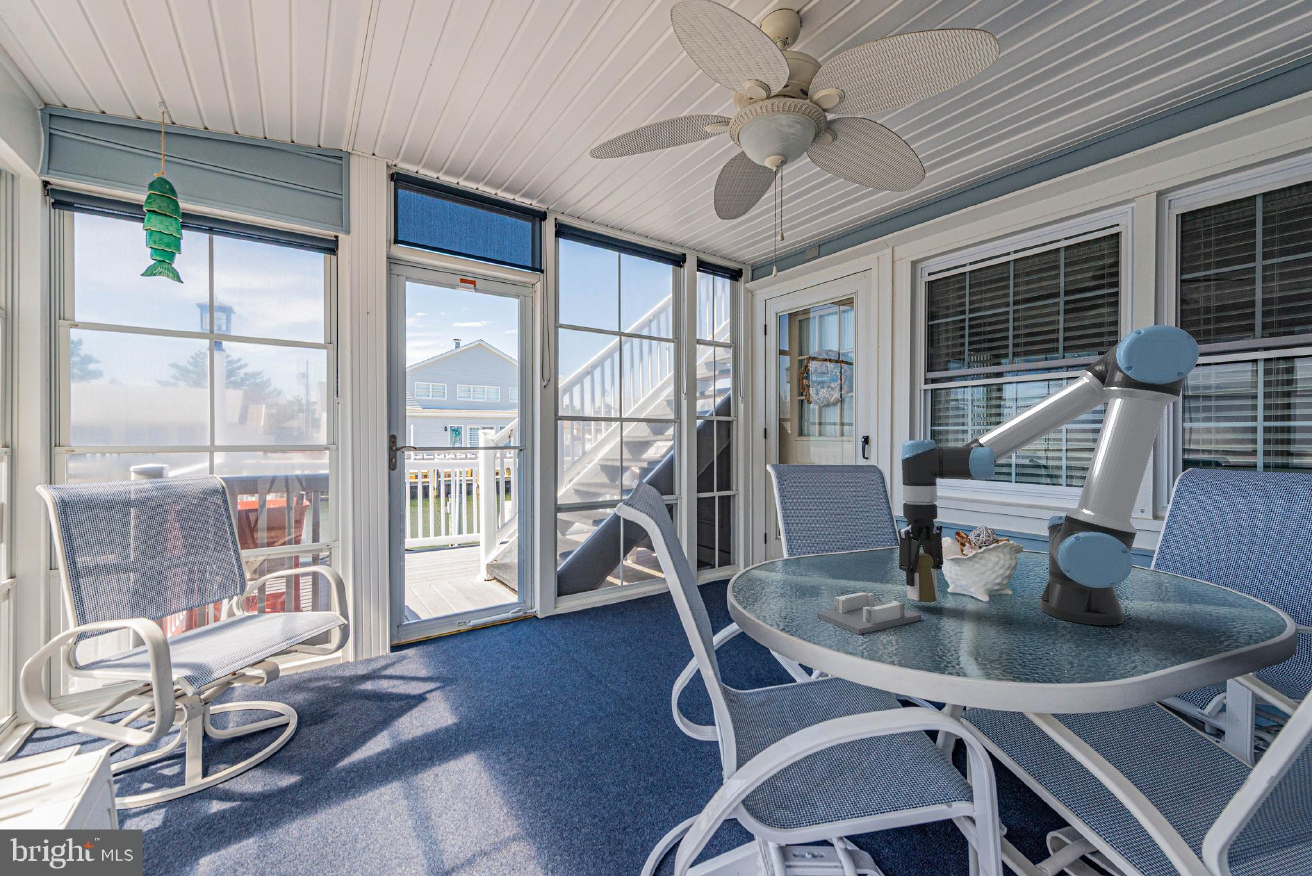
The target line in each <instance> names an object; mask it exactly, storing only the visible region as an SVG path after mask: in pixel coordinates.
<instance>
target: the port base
mask: <svg viewBox="0 0 1312 876" xmlns="http://www.w3.org/2000/svg"><path fill="white" fill-rule="evenodd" d="M833 601H834V602H833V609H828V610H823V611H819V612H816V618H817V617H818V618H817V619H819V618H820V619H819V620H821V619H823V620H822V621H824V622H826V621H827V623H829V624H831V623H832V625H834V624H835V625H834V626H836V625H837V627H838V626H840V627H839V628H841V627H842V628H841V629H843V628H845V629H844V630H846V629H847V630H846V631H848V630H850V631H849V632H851V633H853V632H854V633H853V634H856V633H857V634H856V635H859V634H860V635H863V634H862V633H864V634H868V633H872V632H877V631H881V630H885V629H889V628H893V627H897V626H901V625H905V624H909V623H914V622H919V621H921V620H922V613H921V614H920V613H917V612H914V611H911V610H908V609H905V603H904V602H901V601H897V600H893V601H891V602H890V603H886V602H883V601H880V600H875V594H874V593H873V592H869V591H862V592H857V593H850V594H845V595H840V596H836V597H834V598H833ZM860 635H859V636H860Z"/></svg>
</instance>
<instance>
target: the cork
mask: <svg viewBox="0 0 1312 876" xmlns="http://www.w3.org/2000/svg"><path fill="white" fill-rule="evenodd" d="M932 566H933V558H932V557H931V556H930V555H928V554H925V553H924V552H919V557H918V563H917V569H916V573H919V600H918V601H917V600H913V599H910V600H912V601H915V602H918V603H934V602H937V596H936V595H935V589H934V583H933V577H932V572H931V567H932Z"/></svg>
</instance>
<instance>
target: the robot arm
mask: <svg viewBox="0 0 1312 876" xmlns="http://www.w3.org/2000/svg"><path fill="white" fill-rule="evenodd" d="M1199 357H1200V348H1199V344H1198V343H1197V340H1196V339H1195V338H1194V337H1193V336H1192V335H1191V334H1189V333H1188V332H1187V331H1185V330H1184V329H1181V328H1179V327H1176V326H1173V325H1166V324H1164V325H1162V324H1160V325H1149V326H1147V327H1141V328H1138V329H1136V330H1134V331H1132V332H1130V333H1128V334H1127V335H1125V336H1124V338H1122V340H1121V341H1119V342H1117V343H1116V344H1115V345H1113V346H1112V347H1111V348H1110V349H1109V350H1108V351H1107V352H1106V353H1105V354H1104V355H1102V356H1101V357H1100V358H1098V359H1097V360H1096V361H1095V362H1093V363H1092V364H1090V365H1088V366H1087V367H1086V368H1083V369H1082V370H1081V372H1080V376H1079V377H1078V378H1076V379H1074V380H1072V381H1071V382H1068V383H1067V384H1066V385H1064V386H1062V387H1061V388H1058V389H1057V390H1055V391H1054V392H1052V393H1050V394H1049V395H1047V396H1045V397H1043V398H1042V399H1040V400H1039V401H1037V402H1035V403H1034V404H1032V405H1030V406H1028V407H1027V408H1025V409H1023V410H1022V411H1020V412H1018V413H1017V414H1015V415H1013V416H1012V417H1010V418H1008V419H1006V420H1005V421H1003V422H1001V423H999V424H998V425H996V426H994V427H993V428H991V429H989V430H988V431H986V432H985V433H983V434H981V435H980V436H978V437H977V438H975V439H973V440H971V441H969V442H968V443H966V444H964V445H963V446H961V447H960V446H959V447H937V445H936V441H935V440H933V439H924V440H923V439H922V440H921V439H919V440H917V439H915V440H914V439H913V440H905V441H904V442H903V443H902V444H901V458H900V459H901V476H902V480H901V481H902V500H903V501H904V503H903V504H902V511H903V513H902V514H903V518H904V519H906V521H907V522H906V525H905V528H899V529H898V530H897V533H898V540H899V542H898V543H899V547H898V552H899V553H898V554H899V555H898V569H899V570H901V571H903V572H904V573H905V583H906V592H907V593H906V595H907V596H906V597H907V599H910V600H911V599H913V600H912V601H914V600H917V601H916V602H919V601H918V600H919V573H916V569H917V563H918V557H919V553H921V552H920V550H921V547H922V551H923V553H925V554H928V555H930V556H931V557H932V558H933V566H932V567H931V572H932V577H933V583H934V589H935V595H936V597H938V570H942V568H943V567H942V566H943V565H944V551H943V550H944V549H943V537H942V535H943V526H942V525H938V524H935V522H934V521H936V520H938V505H937V504H936V503H937V501H938V490H937V489H938V487H937V479H940V480H941V479H942V480H944V479H948V480H949V479H950V480H975V481H979V480H992V479H993V478H994V477H995V474H996V473H995V472H996V470H995V464H997V463H999V462H1001V461H1002V460H1004V459H1005V458H1007V457H1009V456H1011V455H1013V454H1015V453H1016V452H1018V451H1020V450H1022V449H1023V448H1026V447H1027V446H1028V445H1031V444H1032V443H1034V442H1036V441H1037V440H1040V439H1042V438H1043V437H1045V436H1048V434H1051V433H1052V432H1054V431H1055V430H1057V429H1060V428H1061V427H1063V426H1065V425H1067V424H1068V423H1070V422H1072V421H1075V420H1076V419H1078V418H1079V417H1081V416H1083V415H1085V414H1087V413H1088V412H1090V411H1092V410H1094V409H1096V408H1097V407H1099V406H1101V405H1103V404H1107V407H1106V409H1105V410H1106V411H1105V413H1104V417H1103V420H1102V423H1101V427H1100V431H1099V433H1098V437H1097V440H1096V444H1095V447H1094V450H1093V453H1092V457H1091V460H1090V464H1089V466H1088V470H1087V474H1086V477H1085V480H1084V485H1083V487H1082V490H1081V494H1080V497H1079V501H1078V504H1077V507H1076V508H1074V509H1072V510H1069V511H1068V512H1066V513H1065V515H1053V516H1051V517H1049V519H1048V525H1047V530H1048V579H1047V582H1046V584H1045V587H1044V589H1043V592H1042V594H1041V597H1040V600H1039V609H1040V610H1041V612H1043V613H1044V614H1046V615H1049V616H1051V617H1053V618H1057V619H1061V620H1064V621H1069V622H1074V623H1078V624H1083V625H1085V624H1086V625H1091V624H1093V626H1102V625H1107V626H1108V625H1109V627H1111V626H1110V625H1113V626H1116V625H1115V624H1120V623H1122V624H1124V622H1123V621H1124V610H1123V607H1122V605H1121V603H1120V600H1119V598H1118V595H1117V593H1116V590H1115V588H1114V587H1115V586H1117V585H1120V584H1121V583H1122V582H1124V581H1125V580H1126V579H1127V578H1128V577H1130V574H1131V573H1132V569H1133V566H1134V560H1133V555H1132V553H1131V552H1132V548H1133V545H1134V542H1135V538H1136V535H1137V532H1138V531H1137V529H1136V528H1135V526H1134V525H1133V524H1132V522H1131V517H1132V514H1133V511H1134V508H1135V504H1136V501H1137V498H1138V495H1139V492H1140V488H1141V485H1142V483H1143V479H1144V476H1145V473H1146V469H1147V466H1148V463H1149V461H1150V456H1151V453H1152V451H1153V446H1154V444H1155V440H1156V438H1157V433H1158V431H1159V429H1160V428H1159V427H1160V425H1161V421H1162V418H1163V416H1164V415H1163V414H1164V412H1165V409H1166V407H1167V406H1168V405H1170V404H1172V403H1174V402H1176V401H1178V400H1179V398H1180V395H1181V392H1182V390H1183V386H1184V384H1185V380H1186V377H1187V376H1188V375H1190V373H1191V372H1193V370H1194V368H1195V367H1196V365H1197V363H1198V361H1199ZM1120 625H1121V624H1120ZM1107 626H1106V627H1107Z"/></svg>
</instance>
